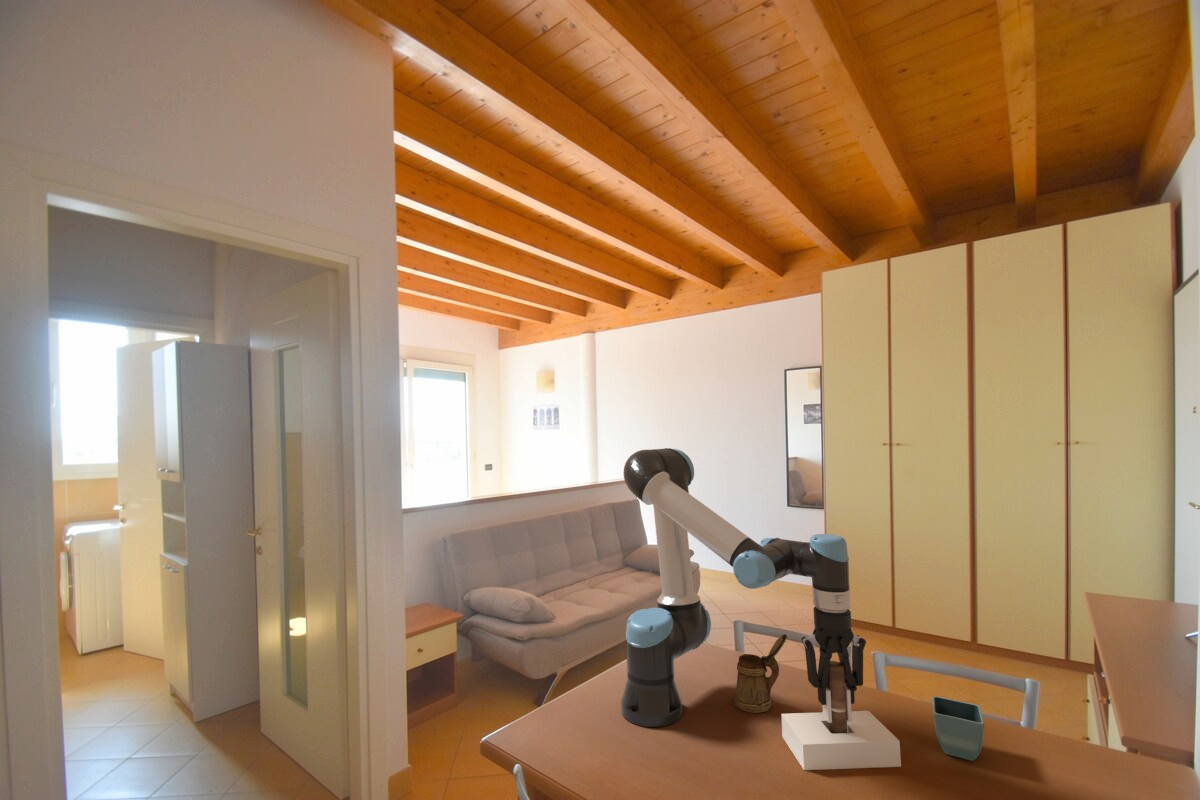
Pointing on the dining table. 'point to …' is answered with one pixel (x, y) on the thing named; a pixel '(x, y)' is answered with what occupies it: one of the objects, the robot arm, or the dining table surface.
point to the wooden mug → (757, 679)
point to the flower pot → (958, 727)
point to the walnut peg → (837, 697)
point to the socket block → (840, 742)
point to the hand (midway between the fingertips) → (837, 718)
